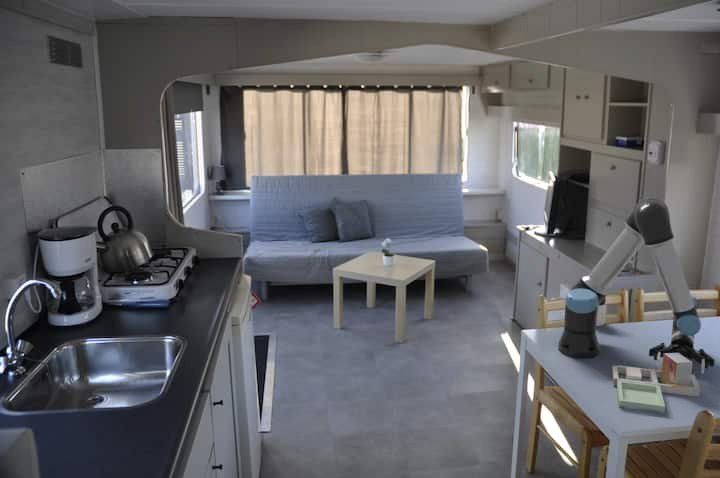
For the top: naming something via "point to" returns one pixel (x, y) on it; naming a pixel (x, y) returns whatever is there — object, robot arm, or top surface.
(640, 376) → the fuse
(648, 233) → the robot arm
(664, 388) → the beige divided frame
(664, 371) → the small box
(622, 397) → the tray
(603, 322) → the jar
